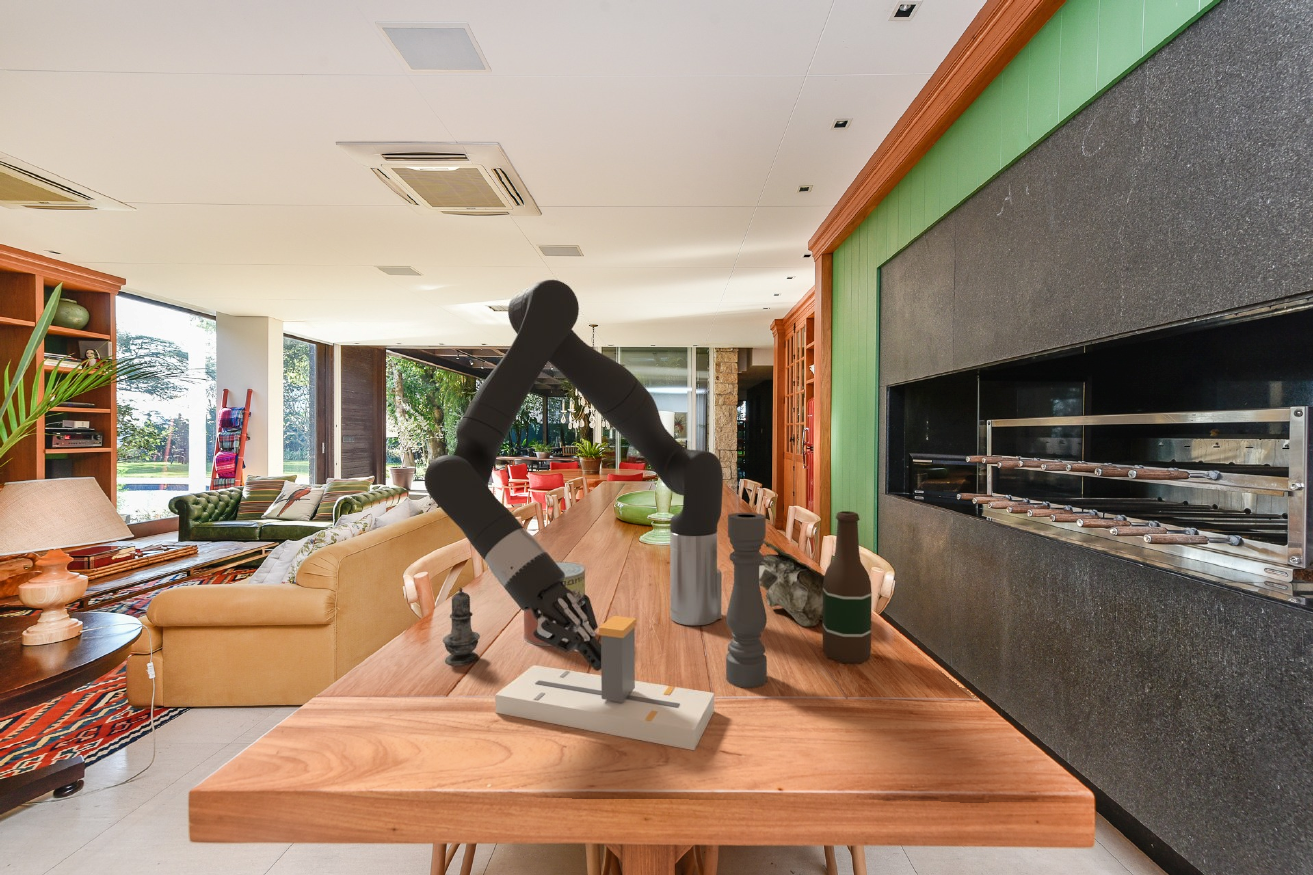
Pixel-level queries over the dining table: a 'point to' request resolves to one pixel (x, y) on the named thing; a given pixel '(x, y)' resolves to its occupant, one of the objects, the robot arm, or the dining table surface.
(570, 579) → the canned food
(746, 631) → the candle holder
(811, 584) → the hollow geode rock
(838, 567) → the beer bottle
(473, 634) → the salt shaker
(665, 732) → the fader console
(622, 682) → the fader knob
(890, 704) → the dining table surface
